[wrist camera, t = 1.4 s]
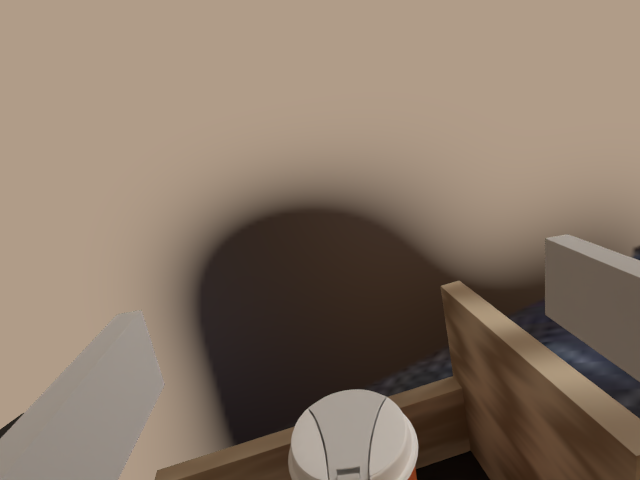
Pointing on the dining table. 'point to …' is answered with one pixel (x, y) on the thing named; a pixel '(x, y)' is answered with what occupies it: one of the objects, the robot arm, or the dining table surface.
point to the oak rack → (481, 412)
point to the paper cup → (353, 440)
